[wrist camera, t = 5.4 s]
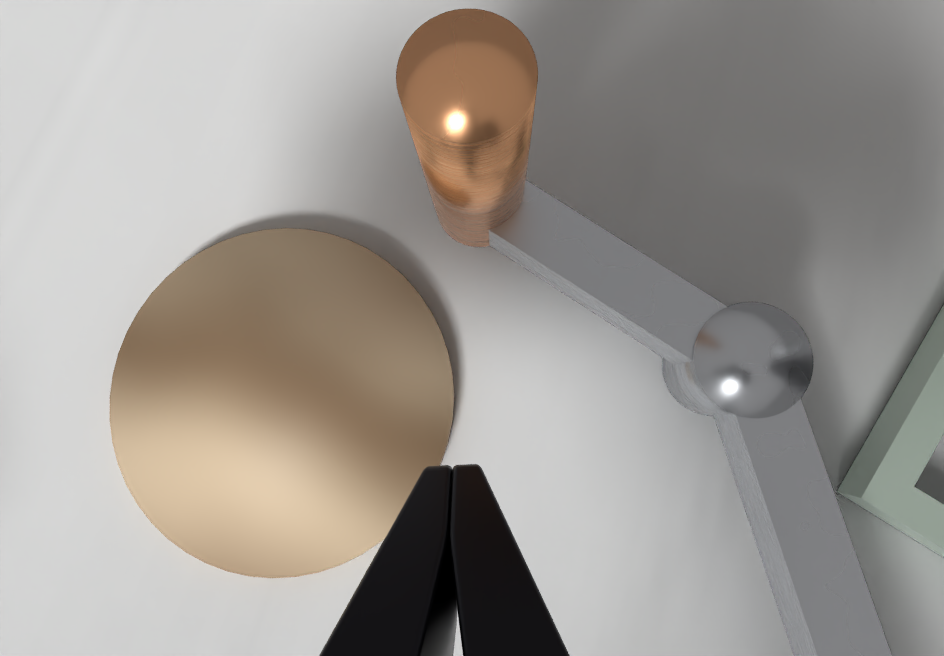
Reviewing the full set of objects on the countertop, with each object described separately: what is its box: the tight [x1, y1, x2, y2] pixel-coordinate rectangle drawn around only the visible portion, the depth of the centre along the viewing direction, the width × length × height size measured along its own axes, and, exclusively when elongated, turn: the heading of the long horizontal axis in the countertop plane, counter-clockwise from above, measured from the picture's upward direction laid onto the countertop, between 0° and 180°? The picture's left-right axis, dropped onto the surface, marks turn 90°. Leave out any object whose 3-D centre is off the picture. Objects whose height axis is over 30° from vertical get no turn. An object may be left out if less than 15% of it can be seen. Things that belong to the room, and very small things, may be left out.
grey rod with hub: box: [396, 9, 892, 656], centre depth 13 cm, size 21×8×8 cm, turn 16°
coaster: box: [110, 228, 454, 578], centre depth 18 cm, size 10×10×1 cm
